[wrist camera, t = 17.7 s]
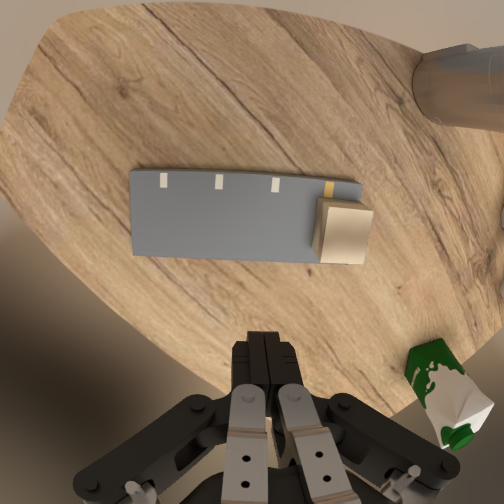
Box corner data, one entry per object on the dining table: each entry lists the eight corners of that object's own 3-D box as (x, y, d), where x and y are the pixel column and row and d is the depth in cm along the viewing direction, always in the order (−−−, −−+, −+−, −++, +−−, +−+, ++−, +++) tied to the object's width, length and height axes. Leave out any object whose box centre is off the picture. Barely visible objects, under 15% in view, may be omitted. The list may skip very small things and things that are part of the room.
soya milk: (406, 346, 46) (460, 433, 28) (447, 332, 46) (506, 407, 28) (399, 380, 50) (442, 462, 31) (438, 366, 49) (485, 439, 31)
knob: (318, 197, 33) (328, 206, 30) (359, 201, 34) (373, 211, 30) (311, 248, 36) (320, 262, 32) (351, 250, 36) (363, 264, 32)
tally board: (134, 168, 33) (128, 171, 31) (356, 181, 35) (362, 184, 33) (137, 249, 37) (132, 255, 35) (343, 258, 39) (348, 264, 37)
